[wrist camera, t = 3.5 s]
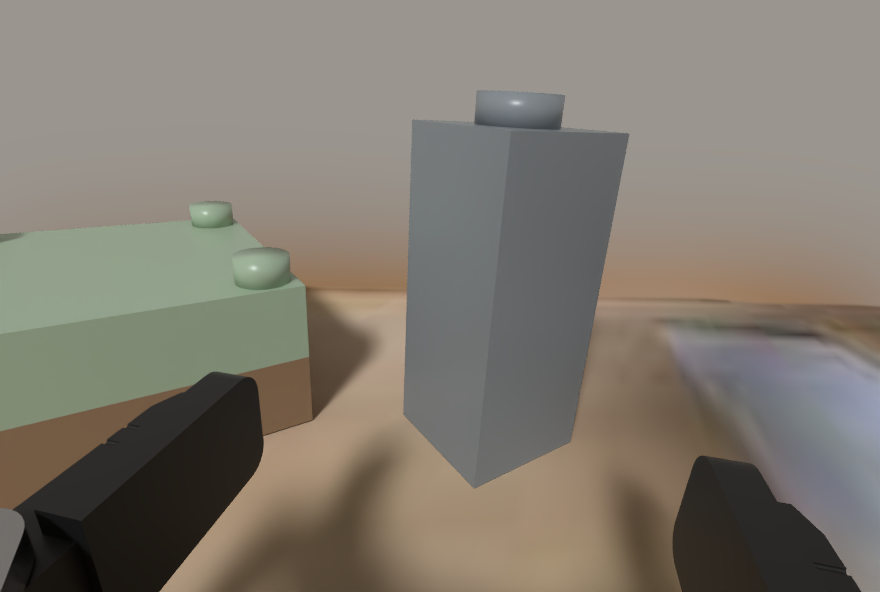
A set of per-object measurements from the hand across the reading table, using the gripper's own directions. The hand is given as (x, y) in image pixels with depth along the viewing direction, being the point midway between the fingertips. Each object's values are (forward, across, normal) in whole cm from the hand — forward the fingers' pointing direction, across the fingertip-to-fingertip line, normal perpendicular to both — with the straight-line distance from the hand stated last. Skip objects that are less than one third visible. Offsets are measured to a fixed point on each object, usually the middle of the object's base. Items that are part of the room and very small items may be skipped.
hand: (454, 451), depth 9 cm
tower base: (+8, +16, +7) cm, 19 cm away
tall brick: (+10, 0, +7) cm, 12 cm away
